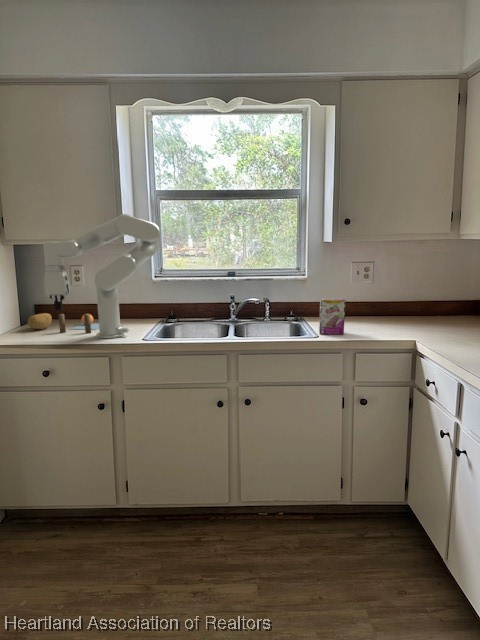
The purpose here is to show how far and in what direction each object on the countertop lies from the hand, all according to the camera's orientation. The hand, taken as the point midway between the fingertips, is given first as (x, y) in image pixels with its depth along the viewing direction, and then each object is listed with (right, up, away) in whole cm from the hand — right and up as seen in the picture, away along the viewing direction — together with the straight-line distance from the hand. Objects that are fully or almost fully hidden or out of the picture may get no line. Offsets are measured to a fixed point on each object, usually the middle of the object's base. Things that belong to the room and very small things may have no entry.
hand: (58, 309), depth 197 cm
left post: (-5, -11, +16) cm, 20 cm away
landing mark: (+4, -8, +29) cm, 30 cm away
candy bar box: (+125, -11, +7) cm, 125 cm away
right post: (+8, -11, +14) cm, 20 cm away
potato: (-19, -9, +25) cm, 33 cm away
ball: (+2, -4, +32) cm, 33 cm away
